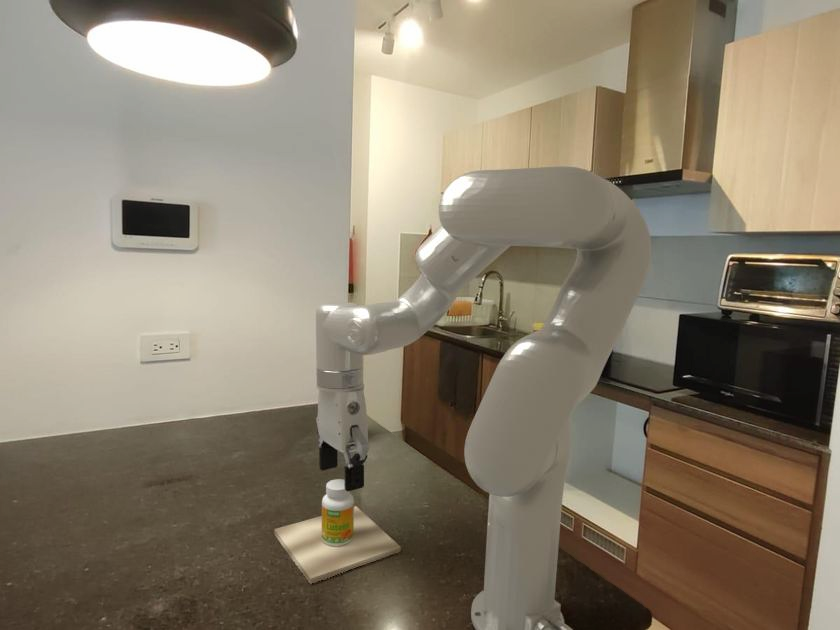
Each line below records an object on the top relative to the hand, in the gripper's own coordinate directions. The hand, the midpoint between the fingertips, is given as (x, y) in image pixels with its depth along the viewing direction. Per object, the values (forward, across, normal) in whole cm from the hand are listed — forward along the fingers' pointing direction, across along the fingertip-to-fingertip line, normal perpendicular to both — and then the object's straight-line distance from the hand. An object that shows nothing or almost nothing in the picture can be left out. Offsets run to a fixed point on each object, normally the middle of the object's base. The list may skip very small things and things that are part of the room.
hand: (340, 478), depth 86 cm
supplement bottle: (+11, +1, 0) cm, 11 cm away
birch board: (+12, +1, 0) cm, 12 cm away
